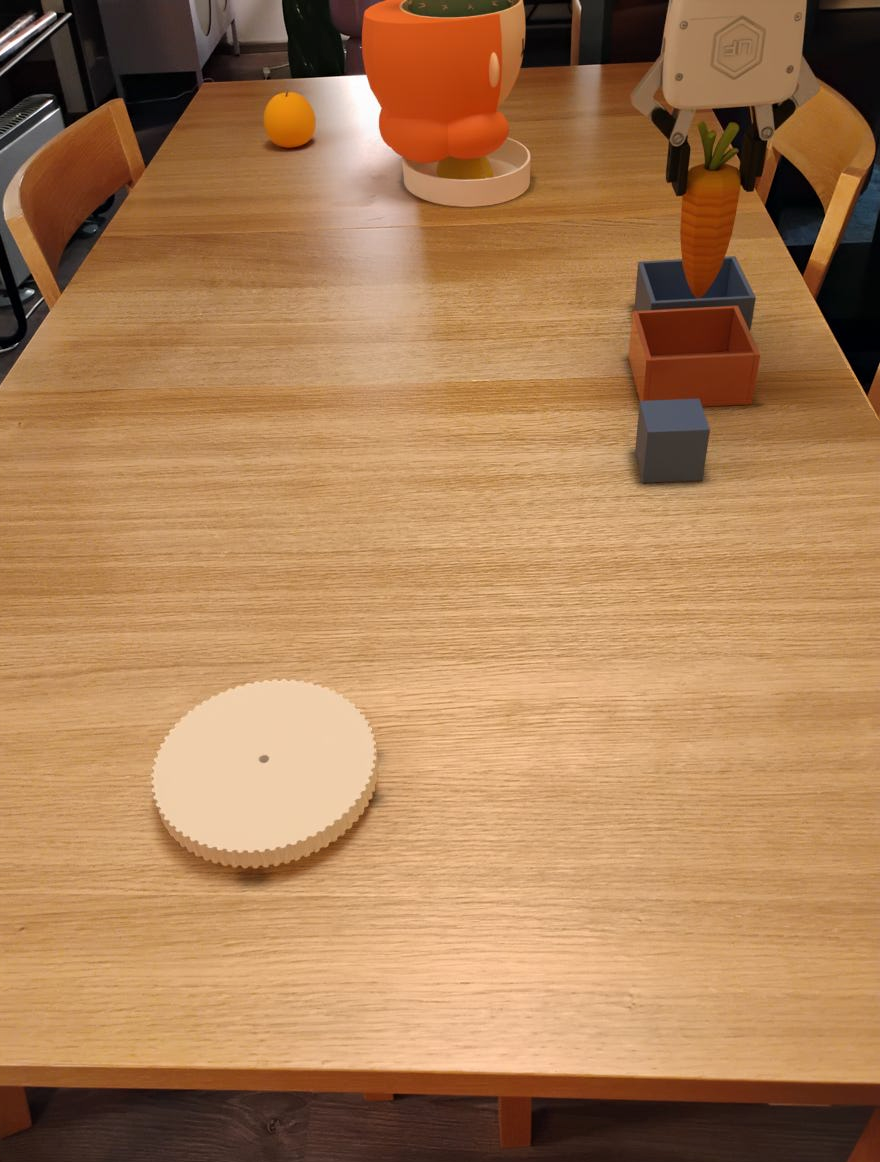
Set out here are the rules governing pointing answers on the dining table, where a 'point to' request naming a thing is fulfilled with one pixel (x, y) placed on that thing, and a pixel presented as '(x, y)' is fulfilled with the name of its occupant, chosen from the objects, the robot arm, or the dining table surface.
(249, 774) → the beige gear wheel
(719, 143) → the carrot
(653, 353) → the terracotta bin
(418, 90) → the potted cactus
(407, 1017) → the dining table surface
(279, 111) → the orange
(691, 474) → the block
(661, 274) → the blue bin
